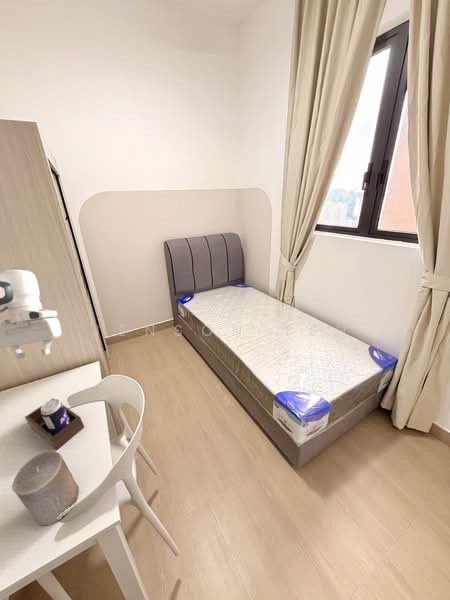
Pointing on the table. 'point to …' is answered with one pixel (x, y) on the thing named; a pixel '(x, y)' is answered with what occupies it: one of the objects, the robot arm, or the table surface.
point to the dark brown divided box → (63, 435)
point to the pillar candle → (46, 487)
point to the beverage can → (54, 416)
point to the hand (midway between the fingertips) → (33, 356)
